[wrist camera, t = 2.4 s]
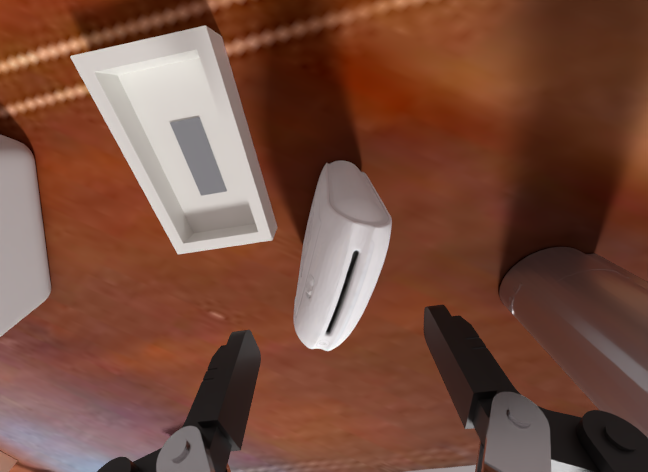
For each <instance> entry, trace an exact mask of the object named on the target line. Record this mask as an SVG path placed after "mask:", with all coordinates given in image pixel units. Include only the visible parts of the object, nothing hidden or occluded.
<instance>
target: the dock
mask: <svg viewBox="0 0 648 472" xmlns="http://www.w3.org/2000/svg"><path fill="white" fill-rule="evenodd" d="M70 57H71V59H72V61H73V63H74V65H75V67H76V68H77V70H78V72H79V74H80V76H81V78H82V79H83V81H84V83H85V85H86V87H87V89H88V90H89V92H90V94H91V96H92V98H93V100H94V101H95V103H96V105H97V107H98V109H99V111H100V112H101V114H102V116H103V118H104V120H105V122H106V123H107V125H108V127H109V129H110V131H111V133H112V134H113V136H114V138H115V140H116V142H117V144H118V145H119V147H120V149H121V151H122V153H123V155H124V156H125V158H126V160H127V162H128V164H129V166H130V167H131V169H132V171H133V173H134V175H135V177H136V179H137V180H138V182H139V184H140V186H141V188H142V190H143V191H144V193H145V195H146V197H147V199H148V201H149V202H150V204H151V206H152V208H153V210H154V212H155V213H156V215H157V217H158V219H159V221H160V223H161V224H162V226H163V228H164V230H165V232H166V234H167V235H168V237H169V239H170V241H171V243H172V245H173V246H174V248H175V250H176V252H177V254H184V253H191V252H197V251H204V250H211V249H217V248H224V247H231V246H237V245H244V244H250V243H257V242H264V241H270V240H273V238H274V235H275V232H276V230H277V224H276V221H275V217H274V214H273V210H272V207H271V203H270V200H269V197H268V193H267V190H266V186H265V183H264V179H263V176H262V173H261V169H260V166H259V162H258V159H257V155H256V152H255V149H254V145H253V142H252V138H251V135H250V131H249V128H248V125H247V121H246V118H245V114H244V111H243V107H242V104H241V101H240V97H239V94H238V90H237V87H236V83H235V80H234V77H233V73H232V70H231V66H230V63H229V59H228V56H227V53H226V49H225V46H224V42H223V39H222V36H221V35H219V34H218V33H216V32H215V31H213V30H212V29H210V28H209V27H207V26H206V25H205V26H201V27H196V28H192V29H188V30H183V31H179V32H174V33H170V34H166V35H161V36H157V37H152V38H148V39H144V40H139V41H135V42H130V43H126V44H122V45H117V46H113V47H108V48H104V49H100V50H95V51H91V52H86V53H82V54H77V55H73V56H70Z"/></svg>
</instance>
